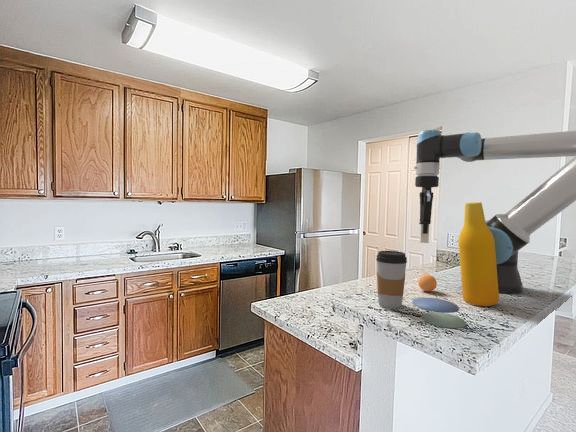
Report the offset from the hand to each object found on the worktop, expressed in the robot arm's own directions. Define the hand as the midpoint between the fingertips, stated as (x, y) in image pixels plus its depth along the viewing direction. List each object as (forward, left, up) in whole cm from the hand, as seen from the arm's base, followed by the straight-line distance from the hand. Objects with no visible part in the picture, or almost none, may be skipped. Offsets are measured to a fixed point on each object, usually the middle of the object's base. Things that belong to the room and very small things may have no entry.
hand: (424, 242), depth 113 cm
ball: (+3, +9, -12) cm, 15 cm away
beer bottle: (-7, +21, -15) cm, 26 cm away
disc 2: (+12, +34, -15) cm, 39 cm away
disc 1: (+8, +22, -15) cm, 28 cm away
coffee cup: (+21, +22, -15) cm, 34 cm away
